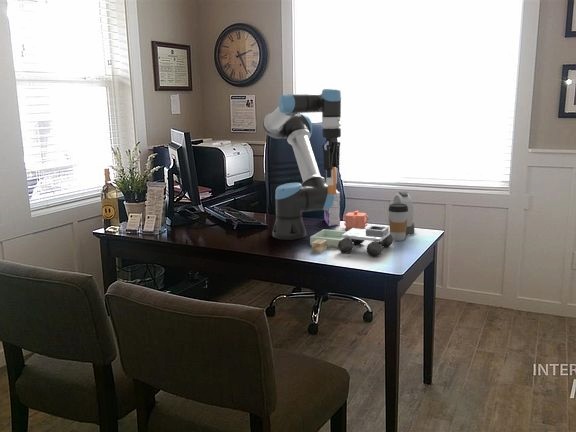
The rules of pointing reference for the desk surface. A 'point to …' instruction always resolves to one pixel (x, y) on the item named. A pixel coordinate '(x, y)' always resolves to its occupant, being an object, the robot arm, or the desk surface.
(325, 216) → the candy box
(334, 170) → the pin
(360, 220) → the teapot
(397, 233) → the coffee cup
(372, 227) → the trolley
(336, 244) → the tray
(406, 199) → the grey rounded piece
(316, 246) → the chock
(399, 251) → the desk surface
